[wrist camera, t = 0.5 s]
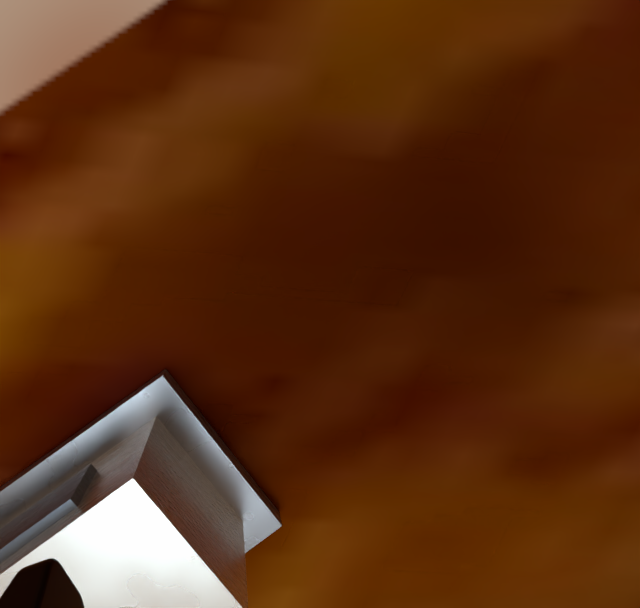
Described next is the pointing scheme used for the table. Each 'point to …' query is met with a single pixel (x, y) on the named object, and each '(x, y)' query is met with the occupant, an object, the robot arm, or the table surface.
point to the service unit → (139, 508)
